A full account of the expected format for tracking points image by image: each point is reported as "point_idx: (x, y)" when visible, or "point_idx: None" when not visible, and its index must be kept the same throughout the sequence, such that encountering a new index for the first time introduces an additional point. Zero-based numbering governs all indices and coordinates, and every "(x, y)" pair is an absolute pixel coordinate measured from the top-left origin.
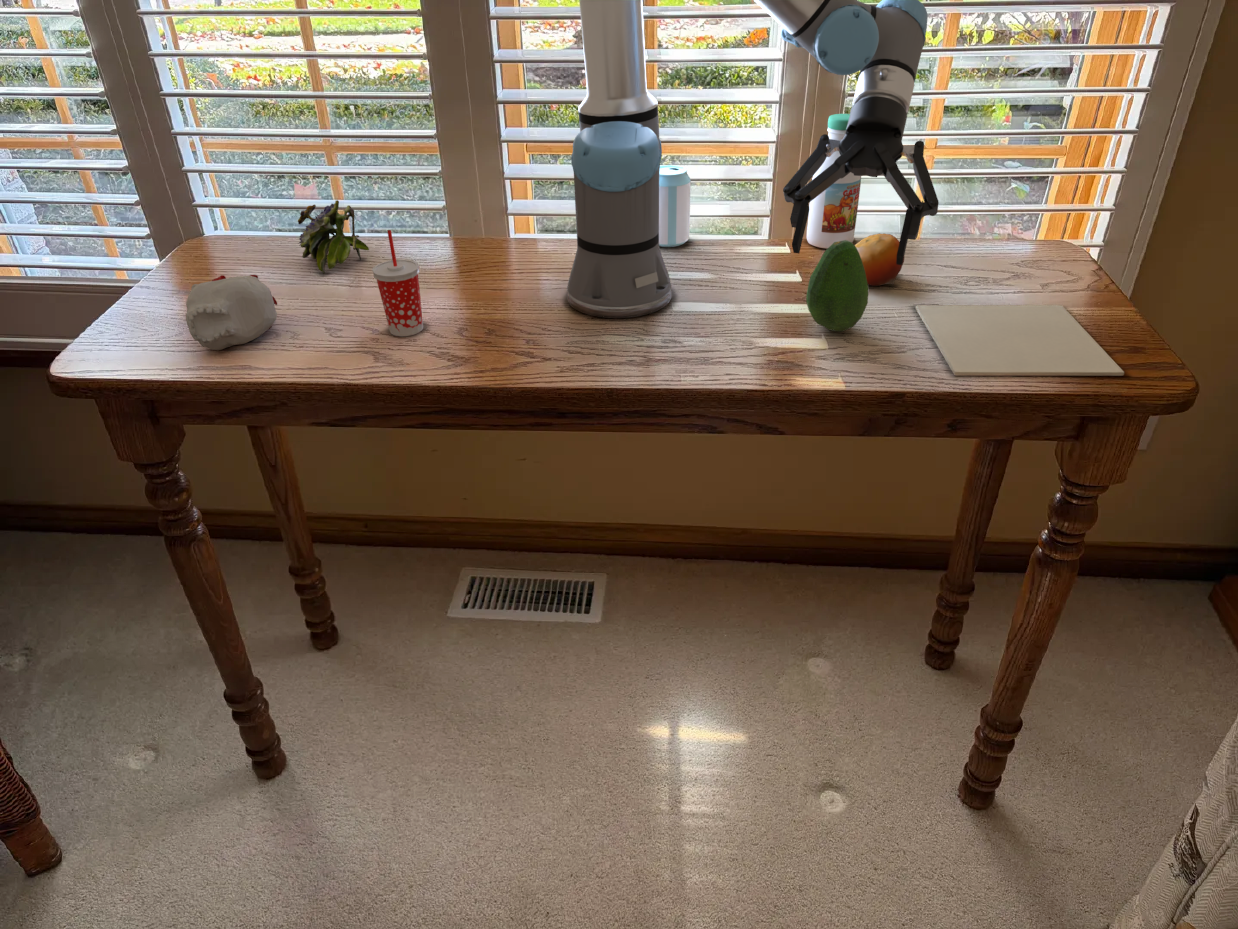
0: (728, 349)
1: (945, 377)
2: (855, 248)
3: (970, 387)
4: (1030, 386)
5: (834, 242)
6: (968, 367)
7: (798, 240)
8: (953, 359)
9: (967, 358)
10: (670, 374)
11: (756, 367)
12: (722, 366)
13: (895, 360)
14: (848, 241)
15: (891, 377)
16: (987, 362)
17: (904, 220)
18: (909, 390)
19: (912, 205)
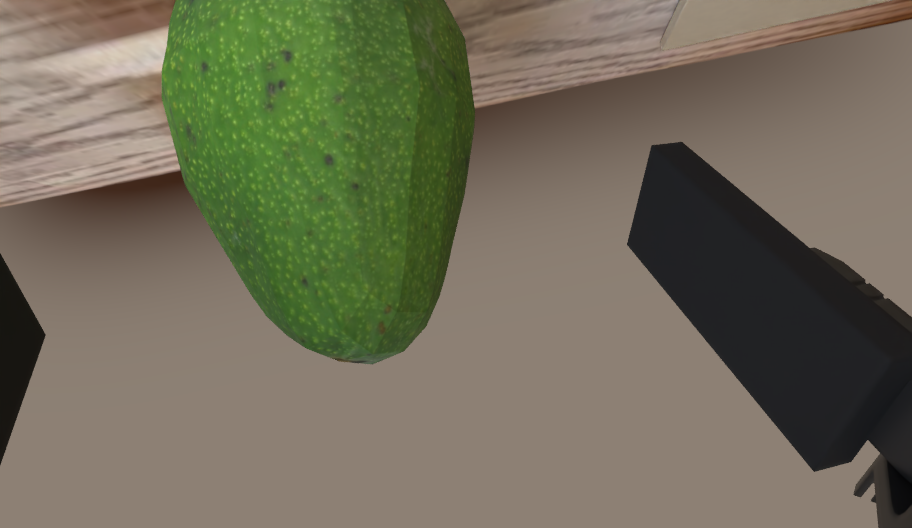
0: (22, 113)
1: (633, 49)
2: (423, 327)
3: (670, 59)
4: (815, 26)
5: (310, 349)
6: (711, 30)
7: (36, 354)
8: (695, 14)
9: (741, 1)
10: (4, 184)
11: (169, 132)
12: (85, 148)
13: (529, 31)
14: (388, 354)
15: (501, 78)
16: (784, 2)
17: (753, 396)
18: (530, 95)
19: (878, 492)
